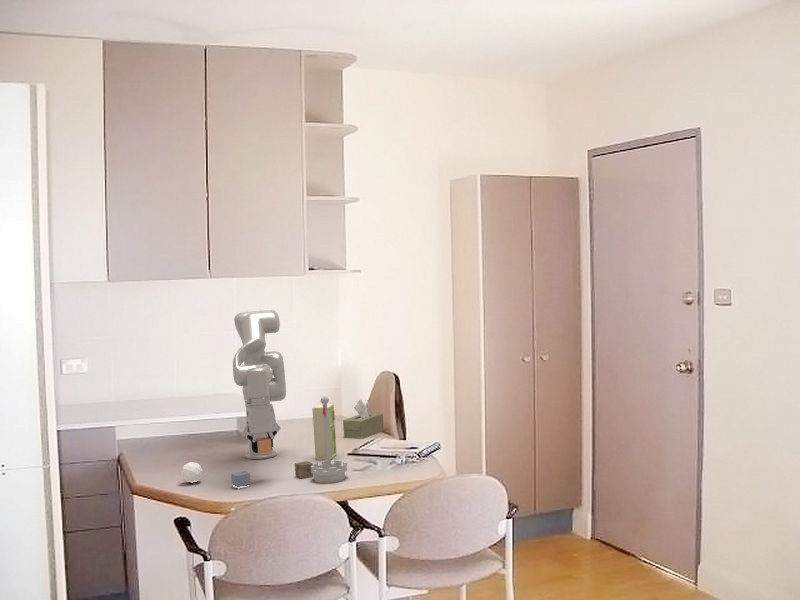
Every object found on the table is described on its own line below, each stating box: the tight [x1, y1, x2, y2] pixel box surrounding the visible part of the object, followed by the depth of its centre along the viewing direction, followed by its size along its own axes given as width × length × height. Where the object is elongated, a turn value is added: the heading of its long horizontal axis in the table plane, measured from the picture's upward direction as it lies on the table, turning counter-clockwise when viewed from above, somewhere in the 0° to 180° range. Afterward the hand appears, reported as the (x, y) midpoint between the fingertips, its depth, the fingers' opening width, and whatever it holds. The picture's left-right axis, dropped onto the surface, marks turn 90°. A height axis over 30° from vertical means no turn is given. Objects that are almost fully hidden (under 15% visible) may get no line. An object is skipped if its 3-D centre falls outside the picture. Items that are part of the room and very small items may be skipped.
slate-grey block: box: [231, 470, 252, 487], centre depth 321 cm, size 5×5×5 cm
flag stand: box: [311, 395, 348, 484], centre depth 324 cm, size 13×13×30 cm
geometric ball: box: [180, 461, 204, 482], centre depth 331 cm, size 8×8×8 cm
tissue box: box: [342, 399, 385, 440], centre depth 403 cm, size 19×10×16 cm, turn 151°
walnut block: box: [294, 460, 314, 480], centre depth 331 cm, size 5×5×5 cm
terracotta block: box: [254, 437, 273, 455], centre depth 328 cm, size 5×5×5 cm
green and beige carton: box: [312, 403, 337, 461], centre depth 359 cm, size 8×7×21 cm
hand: (262, 450), depth 328 cm, fingers closed on terracotta block, 5 cm apart
